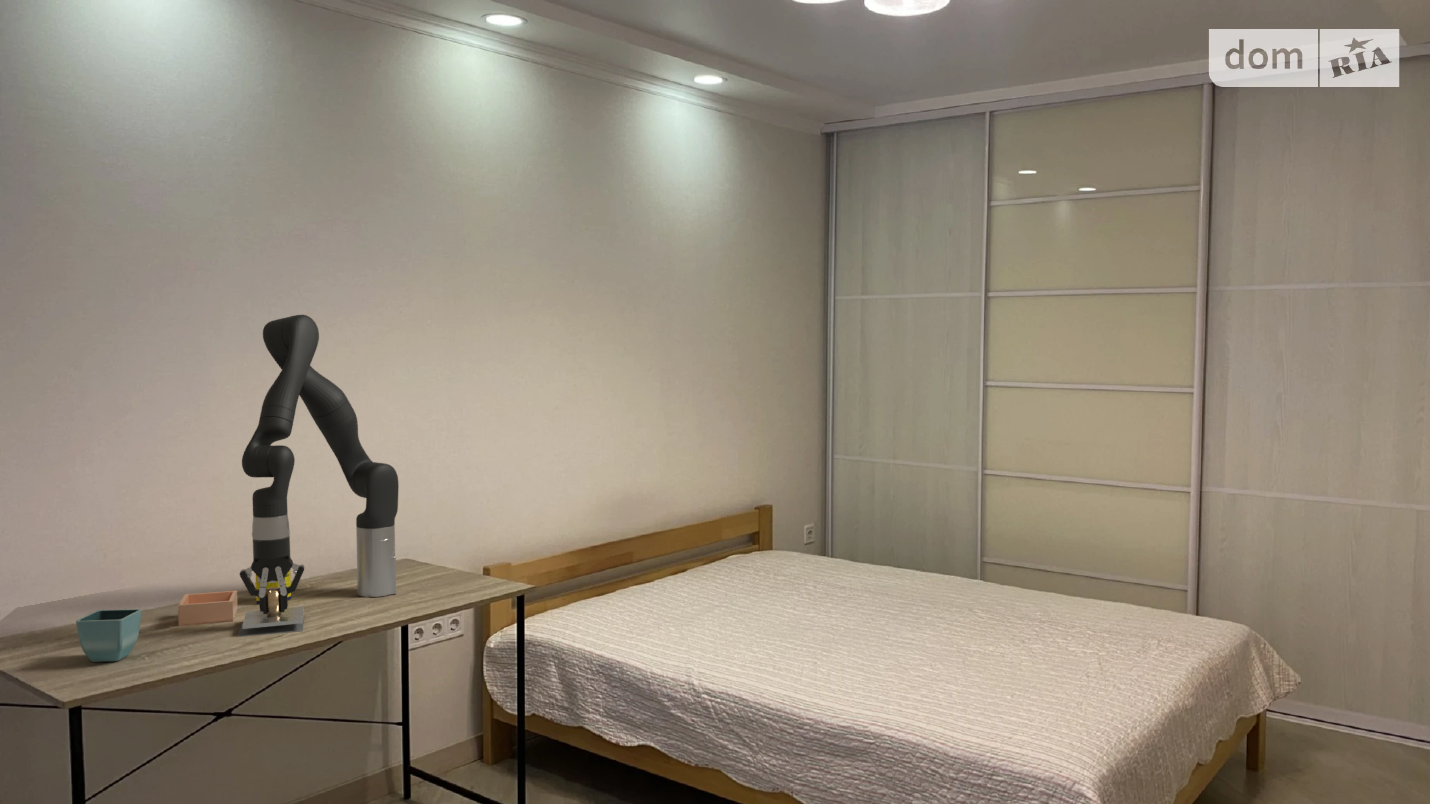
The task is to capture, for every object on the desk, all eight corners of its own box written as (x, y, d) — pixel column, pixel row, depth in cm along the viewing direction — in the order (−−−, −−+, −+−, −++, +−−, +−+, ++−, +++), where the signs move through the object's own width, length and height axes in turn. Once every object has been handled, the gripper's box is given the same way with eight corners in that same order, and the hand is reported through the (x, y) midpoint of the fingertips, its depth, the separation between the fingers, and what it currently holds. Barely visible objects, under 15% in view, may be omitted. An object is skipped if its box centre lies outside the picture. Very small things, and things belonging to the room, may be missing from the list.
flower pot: (99, 652, 210) (97, 609, 210) (144, 651, 211) (142, 608, 210) (76, 666, 201) (74, 620, 201) (123, 664, 202) (121, 619, 202)
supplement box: (291, 598, 255) (290, 555, 254) (279, 604, 249) (278, 560, 248) (268, 598, 256) (267, 554, 255) (255, 604, 250) (254, 559, 249)
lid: (303, 609, 236) (302, 580, 236) (302, 623, 225) (301, 592, 224) (246, 615, 232) (245, 585, 231) (242, 629, 221) (241, 597, 220)
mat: (304, 618, 237) (304, 616, 237) (302, 632, 224) (302, 631, 224) (242, 623, 232) (242, 621, 232) (237, 638, 220) (237, 636, 220)
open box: (237, 611, 243) (237, 590, 242) (233, 623, 232) (232, 601, 232) (185, 615, 239) (185, 594, 239) (178, 627, 229) (178, 605, 228)
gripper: (305, 530, 233) (308, 605, 234) (237, 534, 228) (240, 611, 229) (305, 536, 226) (307, 613, 227) (234, 541, 221) (237, 620, 222)
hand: (273, 612), depth 228 cm, fingers closed on lid, 3 cm apart
